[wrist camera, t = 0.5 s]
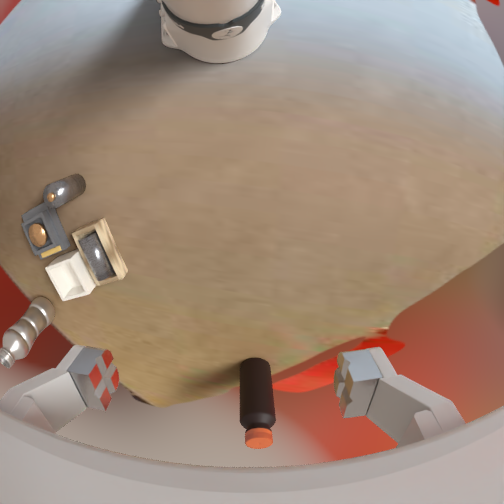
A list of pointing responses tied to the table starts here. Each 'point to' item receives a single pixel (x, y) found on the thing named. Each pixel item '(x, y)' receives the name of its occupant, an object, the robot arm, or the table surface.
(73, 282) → the white square box
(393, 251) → the table surface
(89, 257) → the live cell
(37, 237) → the copper disc
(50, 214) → the cradle
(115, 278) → the trough
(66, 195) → the cylinder
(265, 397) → the vinegar
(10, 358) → the plastic bottle
